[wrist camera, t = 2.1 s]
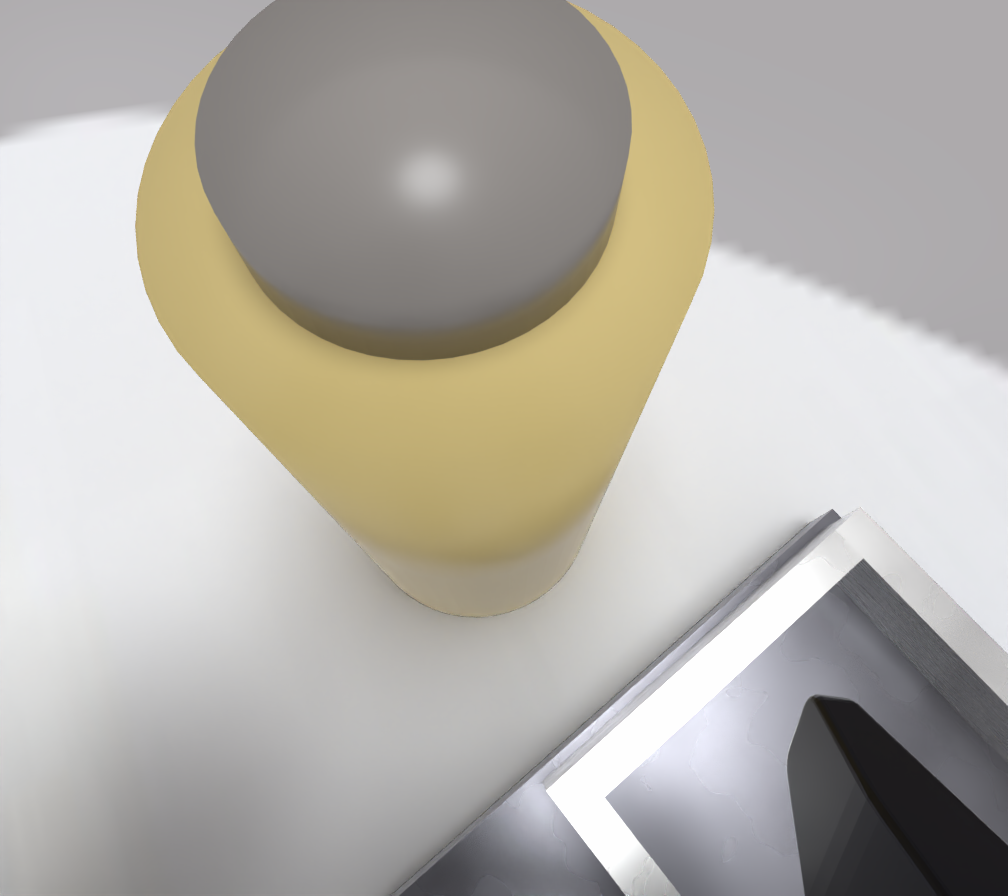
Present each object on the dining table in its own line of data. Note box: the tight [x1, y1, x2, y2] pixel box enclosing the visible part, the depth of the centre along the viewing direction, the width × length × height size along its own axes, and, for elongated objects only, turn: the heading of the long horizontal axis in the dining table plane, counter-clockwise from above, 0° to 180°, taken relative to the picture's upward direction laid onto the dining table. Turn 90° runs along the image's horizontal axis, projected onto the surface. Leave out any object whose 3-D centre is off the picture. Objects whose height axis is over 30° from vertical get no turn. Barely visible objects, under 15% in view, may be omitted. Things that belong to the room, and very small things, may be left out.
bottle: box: [135, 0, 714, 617], centre depth 13 cm, size 6×6×14 cm
